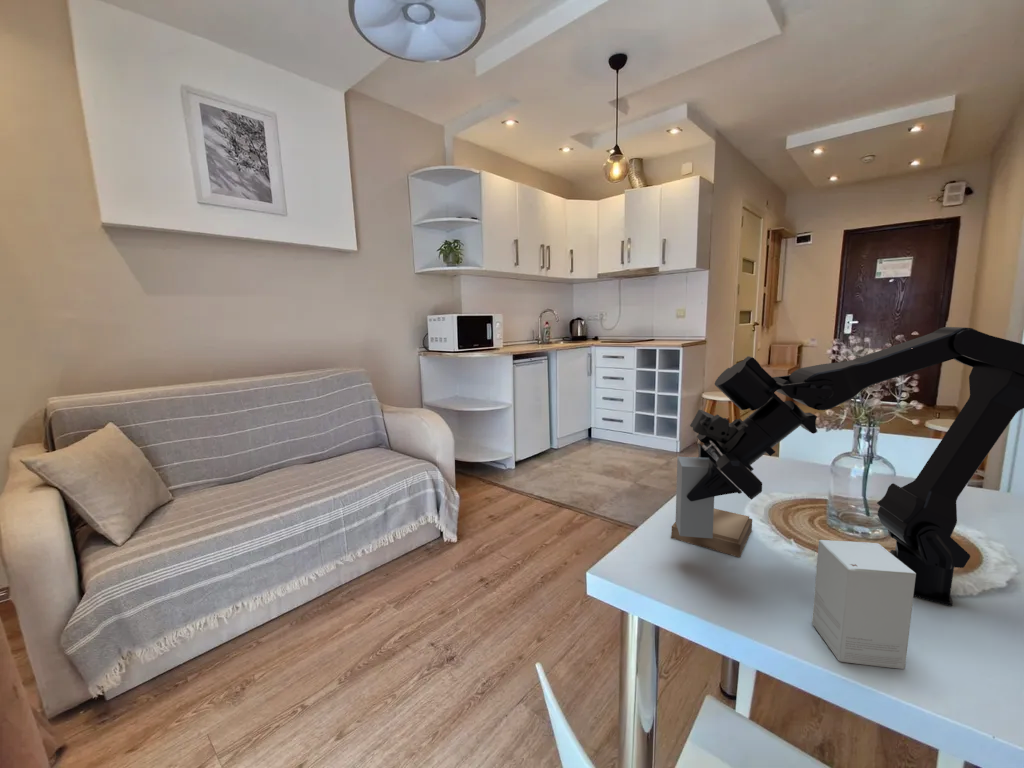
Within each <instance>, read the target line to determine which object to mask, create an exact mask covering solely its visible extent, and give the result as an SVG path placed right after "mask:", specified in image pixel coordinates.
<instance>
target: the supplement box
mask: <svg viewBox="0 0 1024 768" xmlns="http://www.w3.org/2000/svg"><path fill="white" fill-rule="evenodd" d="M817 545H818V547H817V557H816V569H815V570H816V571H815V572H816V573H815V585H814V593H813V594H814V595H813V606H812V607H813V608H812V617H811V618H812V620H811V624H812V625H813V627H814V628H815V629H816V631H817V632H818V634H819V635H820V636H821V638H822V639H823V641H824V642H825V643H826V645H827V646H828V648H829V649H830V650H831V651H832V653H833V655H834V656H835V657H836V659H837V661H839V662H840V663H848V664H857V665H865V666H872V667H881V668H891V669H901V670H904V669H905V668H906V663H907V655H908V647H909V639H910V638H909V637H910V627H911V620H912V613H913V612H912V610H913V603H914V596H913V595H914V586H915V578H916V573H915V572H914V571H913V570H911V569H910V568H909V567H907V566H906V565H905V564H904V563H902V562H901V561H900V560H898V559H897V558H896V557H895V556H893V555H892V554H891V553H890V551H888V550H887V549H886V548H885V547H883V545H882V544H880V543H878V542H864V541H850V540H849V541H848V540H847V541H846V540H828V539H819V540H818V544H817Z"/></svg>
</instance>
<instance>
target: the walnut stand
mask: <svg viewBox="0 0 1024 768" xmlns="http://www.w3.org/2000/svg"><path fill="white" fill-rule="evenodd" d="M752 529H753V518H750V516H749V515H744V514H741V513H740V514H739V513H736V512H732V511H727V510H722V509H719V508H718V509H717V508H715V507H714V516H713V539H712V538H699V537H686V536H680V535H679V531H678V528H677V525H676V521H675V522H673V524H672V525H671V537H670V538H671V539H674V540H677V541H680V542H684V543H688V544H692V545H695V546H699V547H702V548H706V549H708V550H709V549H710V550H712V551H713V550H714V551H716V552H720V553H723V554H727V555H730V556H734V557H738V558H740V557H741V555H742V553H743V551H744V549H745V546H746V544H747V541H748V540H749V538H750V535H751V532H752V531H753V530H752Z"/></svg>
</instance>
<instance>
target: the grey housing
mask: <svg viewBox="0 0 1024 768" xmlns="http://www.w3.org/2000/svg"><path fill="white" fill-rule="evenodd" d="M676 457H677V460H676V491H675V492H676V496H675V522H676V525H677V528H678V531H679V535H680V536H686V537H699V538H712V539H713V516H714V508H715V497H710V498H705V499H701V500H696V501H690V500H689V499H688V498H687V495H688V493H689V492H690V491H691V490H692V489H693V488H694V487H695V486H696V484H697V483H698V482H699V481H700V480H701V479H702V478H703V477H704V476H705V475H706V474H707V473H708V466H709V458H702V457H698V456H676Z"/></svg>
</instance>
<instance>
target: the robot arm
mask: <svg viewBox="0 0 1024 768" xmlns="http://www.w3.org/2000/svg"><path fill="white" fill-rule="evenodd" d="M911 348H913V349H911ZM951 360H955V362H958V363H960V364H962V365H964V366H968V367H971V368H972V369H971V371H970V374H969V376H968V383H969V397H968V399H967V401H966V402H965V403H964V405H963V406H962V408H961V409H960V412H959V413H958V414H957V416H956V418H955V419H954V420H953V422H952V424H950V427H949V428H948V430H947V431H946V432H945V434H944V436H942V438H941V440H940V442H939V443H938V444H937V446H936V448H935V449H934V451H933V452H932V454H931V455H930V457H929V458H928V460H927V462H926V463H925V464H924V466H923V468H922V469H921V470H920V472H919V473H918V475H917V476H916V478H915V479H914V480H913V481H911V482H909V483H907V484H905V485H904V486H899V485H897V484H896V483H895V482H893V483H891V484H889V486H888V487H887V490H886V492H885V494H884V496H883V497H882V498H881V499H880V500H878V501H877V502H876V504H877V505H878V506H879V507H878V510H877V517H878V519H879V522H880V524H881V525H882V526H883V527H884V528H885V529H886V530H887V531H888V535H889V537H890V538H892V539H894V540H895V541H896V542H895V549H891V550H889V552H890V553H891V554H892V555H893V556H895V557H896V558H897V559H898V560H900V561H901V562H902V563H904V564H905V565H906V566H907V567H909V568H910V569H911V570H913V571H914V572H915V573H916V578H915V586H914V595H913V597H917V598H920V599H924V600H927V601H931V602H935V603H936V604H937V603H938V604H941V605H945V606H949V607H952V606H953V603H954V602H953V598H952V596H951V593H952V592H951V591H952V585H953V577H954V571H955V570H954V569H955V568H958V569H959V568H960V569H963V568H965V567H966V565H967V564H968V562H969V560H970V559H971V554H970V553H969V552H967V551H966V550H965V549H964V548H963V547H962V546H961V545H960V544H959V543H958V542H957V541H955V539H953V538H952V535H953V532H954V530H955V528H956V525H957V524H958V513H957V512H958V509H957V502H958V501H957V500H958V499H959V496H960V495H961V493H962V492H963V491H964V489H965V488H966V487H967V485H968V483H969V482H970V480H971V479H972V478H973V477H974V475H975V473H976V472H977V471H978V469H979V467H980V466H981V465H982V464H983V462H984V460H985V459H986V457H987V456H988V455H989V454H990V452H991V450H992V449H993V448H994V446H995V445H996V443H997V442H998V440H999V439H1000V438H1001V436H1002V434H1003V433H1004V431H1005V430H1007V429H1006V428H1008V426H1009V424H1011V421H1012V420H1013V419H1014V417H1015V416H1016V415H1017V413H1018V412H1020V411H1021V410H1023V409H1024V343H1021V342H1016V341H1013V340H1010V339H1009V340H1008V339H1006V338H1002V337H999V336H994V335H990V334H988V333H984V332H982V331H979V330H977V329H974V328H972V327H962V326H961V327H960V326H959V327H958V326H945V327H940V328H938V329H937V330H935V331H932V332H931V333H928V334H925V335H922V336H918V337H917V338H913V339H910V340H907V341H905V342H904V341H903V342H902V343H898V344H896V345H893V346H892V345H891V346H889V347H886V348H884V349H881V350H877V351H875V352H872V353H869V354H866V355H864V356H860V357H857V358H854V359H851V360H847V361H839V362H828V363H820V364H817V365H810V366H806V367H799V368H798V369H796V370H794V371H793V372H792V373H790V374H788V375H782V376H781V375H780V376H772V375H770V374H769V373H768V372H767V371H766V370H765V368H763V366H761V364H760V363H759V362H758V360H756V359H755V357H752V356H748V355H747V356H746V357H745V358H744V359H743V360H741V361H739V362H737V363H735V364H733V365H732V366H731V367H726V369H725V370H724V371H723V372H721V374H720V375H719V376H718V377H717V378H716V380H715V382H714V386H715V387H716V388H717V389H718V390H720V391H721V392H722V393H723V394H724V395H725V396H726V397H727V398H728V400H730V401H731V402H732V403H733V404H734V405H735V406H736V407H737V408H738V409H739V410H741V411H747V410H750V411H753V412H752V413H751V414H749V416H747V417H746V418H745V419H743V420H742V419H741V418H738V419H737V418H736V419H734V420H733V421H732V422H730V420H729V419H728V418H726V417H722V416H721V415H719V414H715V415H714V414H711V413H709V412H707V411H705V410H702V409H699V408H698V411H697V412H696V414H695V416H694V417H693V419H692V421H691V422H690V424H689V427H690V428H692V431H694V432H695V433H696V434H697V435H696V438H697V440H699V441H700V442H701V443H703V444H702V445H701V444H700V443H699V442H698V443H697V447H698V453H697V454H698V456H697V457H702V458H709V466H708V473H707V474H706V475H705V476H704V477H703V478H702V479H701V480H700V481H699V482H698V483H697V484H696V486H695V487H694V488H693V489H692V490H691V491H690V492H689V493H688V495H687V498H688V499H689V500H690V501H696V500H701V499H705V498H710V497H714V498H715V497H720V496H724V495H725V496H726V495H730V494H742V493H744V494H745V496H746V497H748V498H749V499H750V500H753V499H755V497H757V496H758V495H760V494H761V493H762V491H763V482H762V481H761V480H760V479H759V478H758V476H757V475H756V474H755V473H754V472H753V470H754V467H752V465H753V464H754V463H755V462H756V461H758V460H759V459H760V458H762V457H763V456H764V455H765V454H767V455H768V456H770V457H771V456H773V454H775V453H776V451H775V450H774V449H773V448H774V447H775V446H776V445H778V444H779V443H780V442H782V441H783V440H784V439H785V438H787V437H788V436H789V435H790V434H792V433H793V432H794V431H795V430H797V429H798V428H800V427H801V428H802V429H804V430H805V431H807V432H809V433H811V434H816V433H817V423H816V421H817V418H818V417H817V414H814V413H812V412H804V411H803V410H802V409H801V408H800V407H799V405H797V404H796V403H795V402H794V401H796V402H798V403H799V404H802V405H804V406H806V407H808V408H811V409H814V410H817V411H827V410H831V409H833V408H835V407H837V406H839V405H842V404H843V403H846V402H848V401H850V400H852V399H854V398H855V397H856V396H857V395H858V394H860V393H861V392H862V391H863V390H865V389H867V388H869V387H871V386H873V385H877V384H880V383H883V382H886V381H889V380H892V379H896V378H899V377H902V376H905V375H908V374H911V373H914V372H917V371H920V370H924V369H926V368H929V367H933V366H935V365H936V366H937V365H939V364H942V363H946V362H948V361H951ZM776 392H777V393H779V394H781V395H783V396H785V397H788V398H790V399H793V400H785V401H784V400H782V399H781V398H780V397H779V396H778V395H777V394H776Z"/></svg>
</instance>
